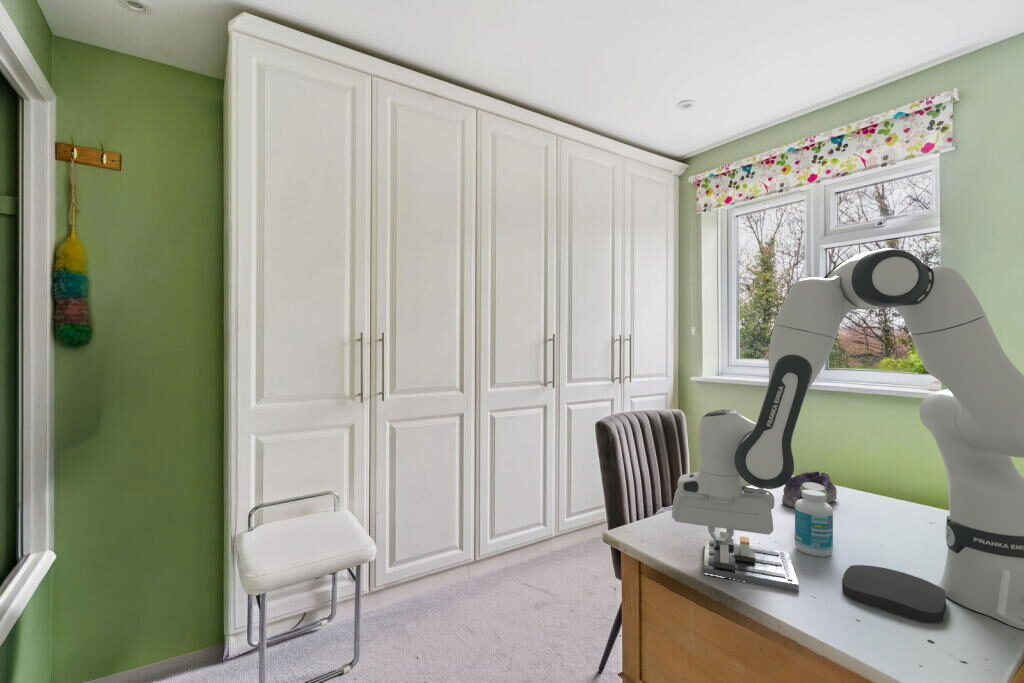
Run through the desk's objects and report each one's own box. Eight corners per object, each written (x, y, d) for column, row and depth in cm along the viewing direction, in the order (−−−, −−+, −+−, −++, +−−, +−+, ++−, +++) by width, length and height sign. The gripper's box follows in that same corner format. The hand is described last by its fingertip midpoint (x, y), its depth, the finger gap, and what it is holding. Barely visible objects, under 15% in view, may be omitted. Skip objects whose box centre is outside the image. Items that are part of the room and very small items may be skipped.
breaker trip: (754, 555, 101) (754, 537, 101) (755, 563, 98) (755, 544, 98) (734, 552, 103) (733, 534, 103) (734, 559, 100) (734, 541, 100)
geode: (816, 516, 131) (810, 479, 132) (774, 509, 140) (768, 476, 141) (845, 499, 142) (839, 466, 143) (805, 494, 152) (799, 463, 153)
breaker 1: (733, 543, 108) (733, 528, 108) (733, 549, 104) (733, 533, 104) (714, 540, 109) (714, 525, 109) (714, 546, 106) (714, 531, 106)
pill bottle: (815, 560, 103) (814, 498, 103) (787, 546, 110) (786, 489, 111) (841, 556, 105) (840, 495, 105) (812, 542, 112) (811, 486, 113)
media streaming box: (837, 598, 88) (837, 582, 88) (853, 572, 99) (853, 557, 99) (942, 631, 78) (942, 613, 78) (947, 598, 88) (947, 582, 88)
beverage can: (817, 525, 123) (817, 479, 123) (834, 536, 116) (833, 488, 116) (792, 524, 124) (792, 479, 124) (807, 535, 117) (806, 487, 117)
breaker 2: (734, 562, 98) (734, 546, 98) (735, 570, 95) (735, 553, 95) (714, 559, 100) (713, 542, 100) (713, 566, 96) (713, 549, 96)
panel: (787, 558, 104) (787, 551, 104) (798, 592, 90) (798, 583, 90) (705, 545, 111) (705, 538, 111) (703, 574, 97) (703, 566, 97)
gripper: (772, 485, 101) (773, 549, 101) (673, 475, 110) (673, 534, 109) (775, 493, 95) (776, 561, 95) (670, 482, 104) (671, 544, 104)
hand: (720, 547), depth 102 cm, fingers closed
